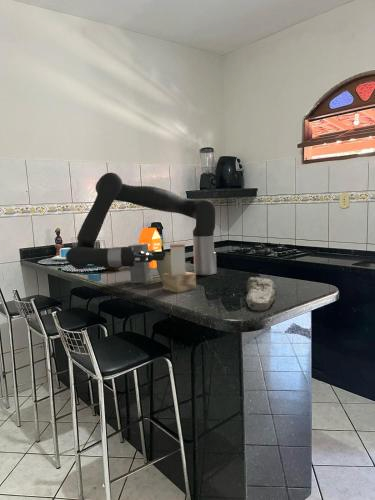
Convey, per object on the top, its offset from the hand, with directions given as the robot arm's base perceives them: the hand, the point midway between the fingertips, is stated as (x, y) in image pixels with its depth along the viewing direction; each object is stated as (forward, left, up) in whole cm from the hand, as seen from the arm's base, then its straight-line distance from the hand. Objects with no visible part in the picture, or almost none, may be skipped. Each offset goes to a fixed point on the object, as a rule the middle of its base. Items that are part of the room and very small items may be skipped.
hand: (164, 255), depth 144 cm
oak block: (-5, +2, -13) cm, 14 cm away
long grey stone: (-24, +27, -13) cm, 39 cm away
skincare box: (+4, -19, -13) cm, 23 cm away
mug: (-6, -11, -13) cm, 18 cm away
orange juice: (-12, -53, -13) cm, 56 cm away
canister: (-5, +2, -7) cm, 9 cm away
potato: (+8, -52, -13) cm, 54 cm away
